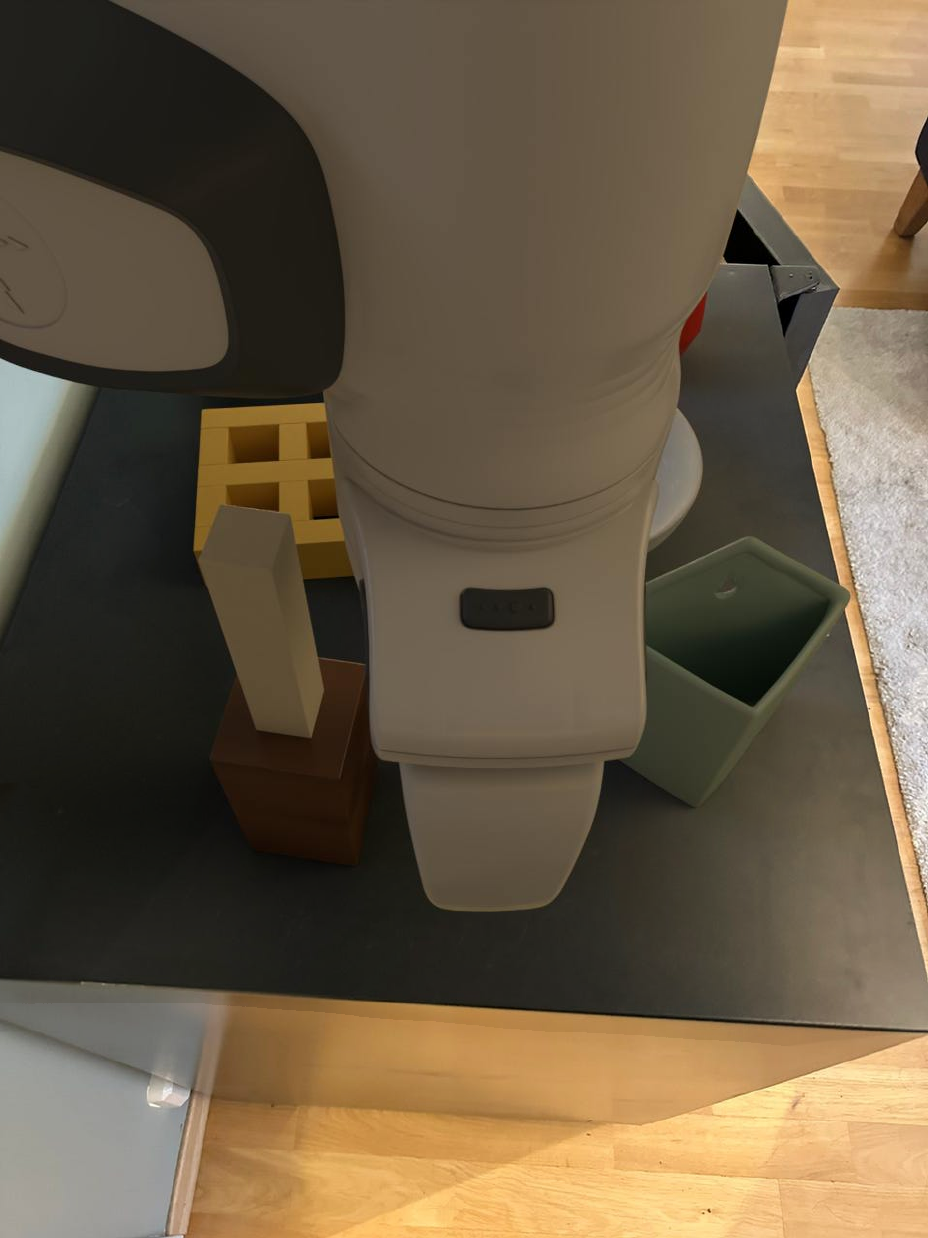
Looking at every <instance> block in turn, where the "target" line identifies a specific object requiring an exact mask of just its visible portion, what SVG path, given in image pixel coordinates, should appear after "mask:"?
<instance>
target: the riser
mask: <svg viewBox="0 0 928 1238" xmlns="http://www.w3.org/2000/svg"><path fill="white" fill-rule="evenodd" d="M318 661H319V667H320V672H321V677H322V682H323V688H324V692H323V696H322V700H321V703H320V707H319V711H318V715H317V718H316V722H315V726H314V730H313V733H312V737H311V738H306V737H299V736H293V735H286V734H280V733H273V732H267V731H260V730H256V727H255V724H254V721H253V718H252V716H251V713H250V710H249V707H248V704H247V701H246V698H245V695H244V692H243V689H242V686H241V683H240V681H239V678H238V675H237V674H236V676H235V678H234V681H233V683H232V688H231V690H230V693H229V697H228V700H227V703H226V705H225V709H224V712H223V714H222V717H221V721H220V724H219V726H218V730H217V732H216V736H215V739H214V742H213V744H212V748H211V751H210V754H209V756H208V759H209V762H210V764H211V766H212V768H213V771H214V773H215V775H216V777H217V779H218V782H219V783H220V785H221V788H222V790H223V792H224V794H225V796H226V798H227V800H228V802H229V805H230V807H231V809H232V812H233V814H234V815H235V817H236V820H237V822H238V824H239V826H240V829H241V831H242V832H243V835H244V837H245V839H246V841H247V843H248V846H249V848H250V850H251V851H255V852H260V853H261V852H263V853H268V854H274V855H281V856H287V857H293V858H300V859H306V860H312V861H317V862H325V863H330V864H337V865H344V866H350V867H355V868H356V867H358V864H359V860H360V855H361V850H362V845H363V843H364V842H363V841H364V836H365V832H366V827H367V823H368V818H369V814H370V810H371V805H372V800H373V795H374V791H375V787H376V782H377V777H378V774H379V773H378V772H379V761H378V756H377V755H376V753H375V751H374V749H373V746H372V741H371V733H370V717H369V712H368V705H367V695H366V673H365V663H360V662H359V663H358V662H352V661H345V660H339V659H332V658H331V659H330V658H325V657H318Z"/></svg>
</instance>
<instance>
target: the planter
mask: <svg viewBox="0 0 928 1238" xmlns="http://www.w3.org/2000/svg"><path fill="white" fill-rule="evenodd" d="M731 578H734V580H733V584H734V585H735V587H733V588H732V589H730V590H728V591H724V592H720V591H719V592H718V590H719V589H720V588H722V587H723V586H724V585H725V583H726V581H727V580H729V579H731ZM645 582H646V652H647V683H646V703H647V712H646V722H645V727H644V730H643V733H642V736H641V739H640V742H639V744H638V746H637V748H636V750H635V751H634V753H633V754H632V755H631V756H630V757H627V758H621V759H617V760H618V761H619V762H621V763H623V764H624V765H625V766H627V767H628V768H630V769H632V770H633V771H635V772H636V773H638V775H640V776H642V777H644V778H645V779H647V780H648V781H649V782H651V783H653V784H654V785H656V786H657V787H659V788H660V789H662V790H664V791H665V792H667V793H669V794H671V795H672V796H674V797H675V798H677V799H679V800H680V801H682V802H683V803H686V804H688V805H689V806H691V807H693V808H700V807H701V806H702V805H703V804H704V803H705V802H706V801H707V800H708V799H709V798H710V797H711V795H712V794H713V793H714V792H715V791H716V790H717V789H718V788H719V787H720V786H721V785H722V783H723V782H724V781H725V780H726V779H727V777H728V776H729V774H730V773H731V772H732V771H733V769H734V768H735V766H737V764H738V763H739V761H740V760H741V759H742V757H743V756H744V754H745V753H746V751H747V750H748V749H749V747H750V746H751V744H752V743H753V741H754V740H755V739H756V737H757V736H758V735H759V733H760V732H761V731H762V730H763V728H764V727H765V726H766V725H767V723H768V722H769V721H770V719H771V718H772V717H773V716H774V715H775V713H776V712H777V711H778V710H779V708H780V707H781V705H782V703H783V702H784V701H785V700H786V698H787V696H788V695H789V693H790V692H791V690H792V689H793V687H794V686H795V684H796V682H797V681H798V680H799V678H800V677H801V675H802V674H803V672H804V671H805V669H806V668H807V667H808V666H809V664H810V662H811V661H812V660H813V658H814V656H815V655H816V654H817V652H818V650H819V649H820V647H821V646H822V644H823V643H824V642H825V640H826V638H827V637H828V636H829V634H830V632H831V631H832V629H833V628H834V627H835V625H836V624H837V622H838V620H839V619H840V617H842V614H843V613H844V611H845V610H846V609H847V606H848V605H849V603H850V601H851V592H850V591H849V590H848V589H847V588H846V587H844V586H843V585H841V584H839V583H836V582H835V581H833V580H831V579H830V578H828V577H826V576H824V575H823V574H821V573H820V572H817V571H816V570H815V569H812V568H810V567H808V566H807V565H805V564H803V563H801V562H799V561H796V560H795V559H792V558H791V557H789V556H787V555H786V554H784V553H782V552H780V551H778V550H776V549H775V548H774V547H772V546H771V545H770V544H769V545H768V544H767V543H765V542H763V541H762V540H760V539H758V538H757V537H754V536H745V537H742V538H739V539H737V540H735V541H733V542H731V543H729V544H726V545H725V546H723V547H720V548H719V549H716V550H713V551H712V552H710V553H708V554H706V555H704V556H702V557H699V558H697V559H695V560H693V561H691V562H688V563H686V564H684V565H682V566H680V567H678V568H676V569H673V570H671V571H668V572H667V573H664V574H662V575H660V576H658V577H656V578H654V579H651V580H649V581H645Z"/></svg>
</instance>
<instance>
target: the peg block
mask: <svg viewBox="0 0 928 1238" xmlns="http://www.w3.org/2000/svg"><path fill="white" fill-rule="evenodd" d="M200 418H201V419H200V435H199V436H200V437H199V452H198V453H199V454H198V469H197V486H196V487H197V488H196V502H195V503H196V505H195V518H194V519H195V521H194V524H195V525H194V533H193V534H194V536H193V537H194V538H193V553H194V556H195V559H196V562H197V565H198V568H199V571H200V574H201V577H202V579H203V582H204V585H205V587H207V584H206V581H205V579H204V576H203V573H202V570H201V567H200V564H199V561H198V560H199V557H200V555H201V552H202V550H203V547H204V545H205V542H206V539H207V537H208V534H209V532H210V529H211V526H212V524H213V521H214V519H215V516H216V514H217V511H218V508H219V506H220V504H223V505H230V506H237V507H245V508H252V509H259V510H266V511H273V512H281V513H288V514H290V516H291V521H292V526H293V531H294V537H295V542H296V547H297V552H298V557H299V563H300V568H301V573H302V578H303V580H314V579H316V580H317V579H329V578H330V579H331V578H341V577H344V578H345V577H355V576H354V573H353V570H352V567H351V563H350V560H349V556H348V553H347V549H346V545H345V541H344V535H343V529H342V526H341V522H340V518H339V517H337V516H339V514H338V507H337V498H336V490H335V481H334V473H333V465H332V459H331V452H330V444H329V436H328V428H327V420H326V412H325V404H324V402H317V403H297V404H281V405H280V404H279V405H261V406H260V405H259V406H243V407H226V408H225V407H224V408H205V409H202V410H201V417H200ZM333 516H334V517H335V516H336V517H337V518H325V519H314V518H320V517H333Z"/></svg>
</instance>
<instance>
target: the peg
mask: <svg viewBox="0 0 928 1238" xmlns="http://www.w3.org/2000/svg"><path fill="white" fill-rule="evenodd" d="M198 561H199V564H200V567H201V570H202V573H203V576H204V579H205V581H206V584H207V586H206V588H207V590H208V593H209V595H210V599H211V601H212V605H213V607H214V610H215V613H216V616H217V619H218V622H219V625H220V628H221V631H222V633H223V636H224V639H225V643H226V646H227V648H228V651H229V654H230V657H231V660H232V663H233V666H234V669H235V671H236V675H238V678H239V681H240V683H241V686H242V689H243V692H244V695H245V698H246V701H247V704H248V707H249V710H250V713H251V716H252V718H253V721H254V724H255V727H256V730H260V731H267V732H273V733H280V734H286V735H293V736H299V737H306V738H311V737H312V733H313V730H314V726H315V722H316V718H317V715H318V711H319V707H320V703H321V700H322V696H323V692H324V688H323V682H322V677H321V672H320V667H319V661H318V658H319V657H318V652H317V646H316V641H315V636H314V630H313V626H312V625H313V624H312V619H311V615H310V610H309V604H308V600H307V594H306V589H305V583H304V579H303V578H302V573H301V568H300V563H299V557H298V552H297V547H296V542H295V537H294V531H293V526H292V521H291V516H290V514H288V513H281V512H273V511H266V510H259V509H252V508H245V507H237V506H230V505H223V504H220V506H219V508H218V511H217V514H216V516H215V519H214V521H213V524H212V526H211V529H210V532H209V534H208V537H207V539H206V542H205V545H204V547H203V550H202V552H201V555H200V557H199V560H198Z"/></svg>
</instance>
